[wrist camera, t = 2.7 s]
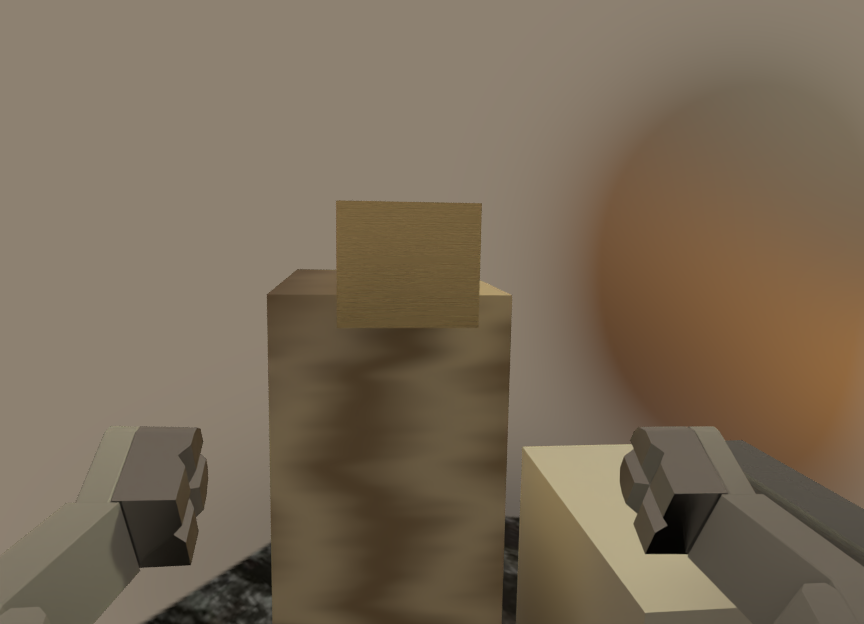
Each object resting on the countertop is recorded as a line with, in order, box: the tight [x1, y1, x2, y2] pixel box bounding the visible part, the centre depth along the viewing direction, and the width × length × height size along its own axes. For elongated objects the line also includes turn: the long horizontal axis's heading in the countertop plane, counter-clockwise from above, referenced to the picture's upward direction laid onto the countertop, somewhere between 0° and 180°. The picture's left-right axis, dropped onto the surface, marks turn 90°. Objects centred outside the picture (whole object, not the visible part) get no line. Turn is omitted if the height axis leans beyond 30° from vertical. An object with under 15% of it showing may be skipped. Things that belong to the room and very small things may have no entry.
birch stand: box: [267, 269, 512, 624], centre depth 36 cm, size 10×14×26 cm
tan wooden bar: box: [336, 201, 482, 328], centre depth 29 cm, size 4×22×4 cm, turn 7°
